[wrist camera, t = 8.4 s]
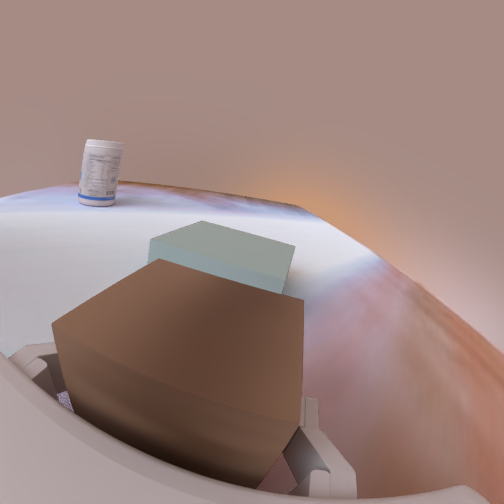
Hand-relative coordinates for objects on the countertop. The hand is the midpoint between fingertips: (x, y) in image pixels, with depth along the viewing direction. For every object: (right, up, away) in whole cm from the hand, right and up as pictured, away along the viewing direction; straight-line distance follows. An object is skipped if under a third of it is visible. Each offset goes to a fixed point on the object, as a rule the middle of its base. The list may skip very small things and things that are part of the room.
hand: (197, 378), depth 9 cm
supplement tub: (-34, +16, +46) cm, 60 cm away
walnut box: (-1, -5, +1) cm, 6 cm away
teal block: (-1, +1, +24) cm, 24 cm away
